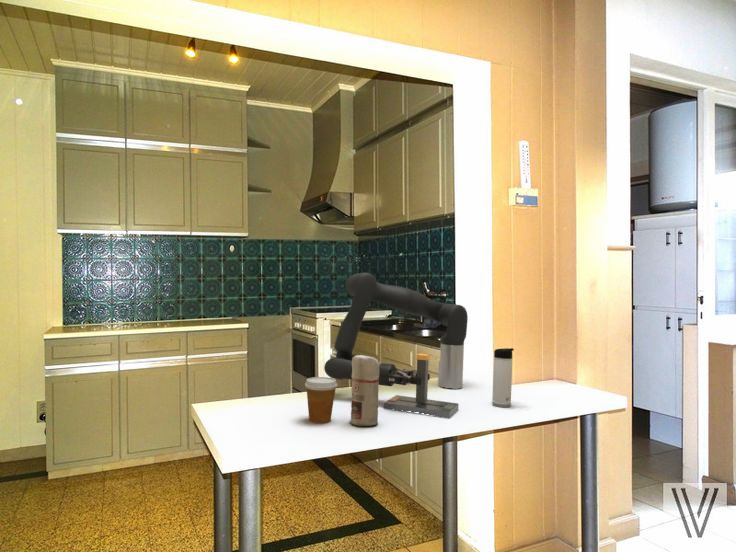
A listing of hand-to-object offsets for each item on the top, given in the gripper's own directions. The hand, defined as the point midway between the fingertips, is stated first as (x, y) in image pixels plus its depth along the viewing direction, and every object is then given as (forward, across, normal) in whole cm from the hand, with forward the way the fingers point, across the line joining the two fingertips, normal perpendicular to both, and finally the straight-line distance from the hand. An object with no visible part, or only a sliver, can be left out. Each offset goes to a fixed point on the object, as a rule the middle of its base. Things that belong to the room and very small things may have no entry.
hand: (425, 379), depth 162 cm
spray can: (-11, -24, +10) cm, 29 cm away
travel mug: (+22, +20, +10) cm, 31 cm away
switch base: (-1, 0, +10) cm, 10 cm away
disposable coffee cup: (-24, -28, +10) cm, 38 cm away
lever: (-1, 0, +7) cm, 8 cm away
